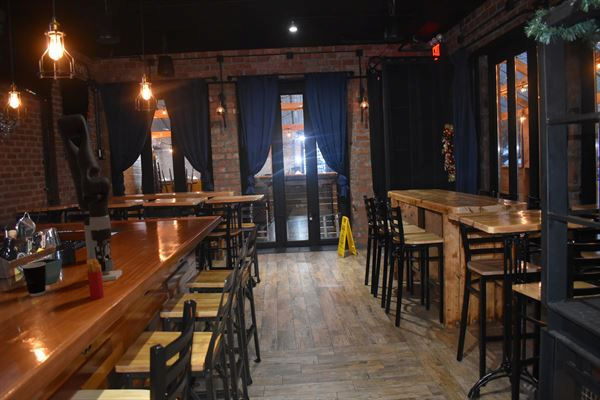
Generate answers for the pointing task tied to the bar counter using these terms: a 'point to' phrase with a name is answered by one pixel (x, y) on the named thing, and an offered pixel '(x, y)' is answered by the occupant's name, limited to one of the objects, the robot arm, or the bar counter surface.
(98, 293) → the french fries
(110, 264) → the ring
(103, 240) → the robot arm
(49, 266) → the flower pot
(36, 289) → the dixie cup
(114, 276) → the stand
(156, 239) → the bar counter surface
